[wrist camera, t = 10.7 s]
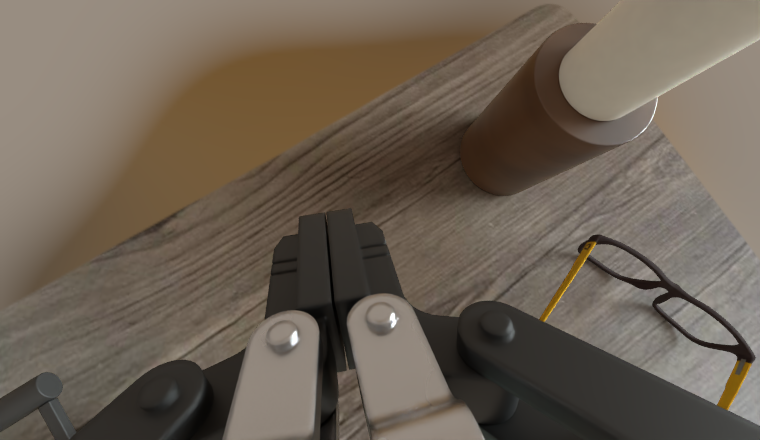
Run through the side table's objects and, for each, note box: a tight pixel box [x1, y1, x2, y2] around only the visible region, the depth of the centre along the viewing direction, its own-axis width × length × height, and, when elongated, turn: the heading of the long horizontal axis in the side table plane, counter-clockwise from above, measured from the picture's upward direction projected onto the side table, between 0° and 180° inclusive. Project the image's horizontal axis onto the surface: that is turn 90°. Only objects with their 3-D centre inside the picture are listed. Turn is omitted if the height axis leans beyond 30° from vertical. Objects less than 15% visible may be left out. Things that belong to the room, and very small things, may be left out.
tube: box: [559, 0, 760, 121], centre depth 13 cm, size 4×4×11 cm
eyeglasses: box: [539, 235, 755, 410], centre depth 25 cm, size 14×14×4 cm
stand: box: [460, 23, 657, 196], centre depth 23 cm, size 7×7×11 cm
